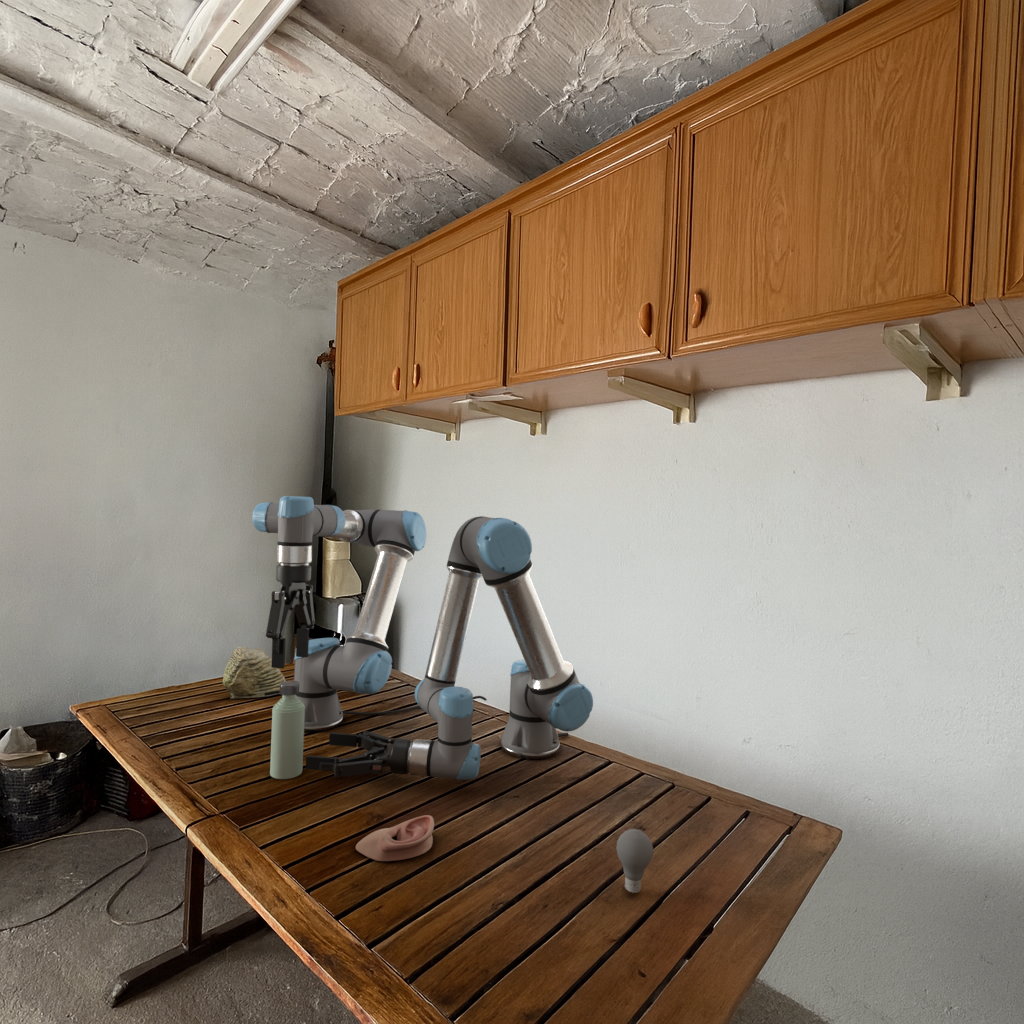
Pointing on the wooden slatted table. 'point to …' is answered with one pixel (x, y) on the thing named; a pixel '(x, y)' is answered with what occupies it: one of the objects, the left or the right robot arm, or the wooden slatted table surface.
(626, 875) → the light bulb
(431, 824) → the anatomical model
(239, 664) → the fossil
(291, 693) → the cap
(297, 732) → the bottle
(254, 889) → the wooden slatted table surface
